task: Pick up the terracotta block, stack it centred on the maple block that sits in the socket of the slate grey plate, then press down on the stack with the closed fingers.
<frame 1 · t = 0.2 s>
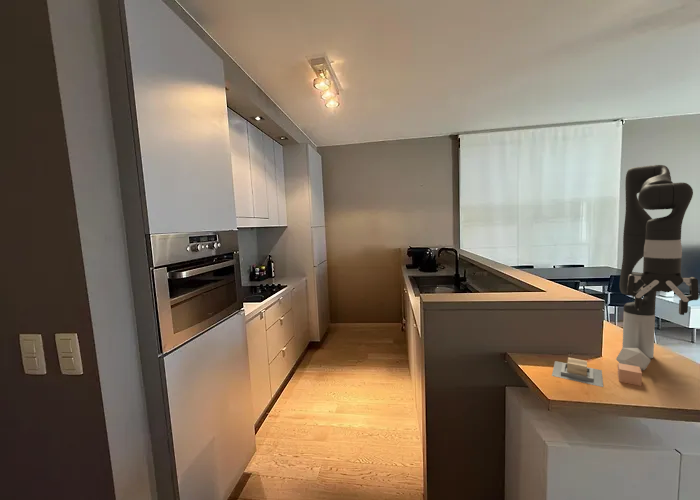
hand: (659, 312, 89), 28 cm above the counter, tool pointing down, fingers open, 8 cm apart
grey faceted rock: (632, 370, 113), on the counter
top block: (629, 383, 104), on the counter
base plate: (576, 376, 110), on the counter
base block: (577, 372, 110), point 1 cm above the counter, touching base plate
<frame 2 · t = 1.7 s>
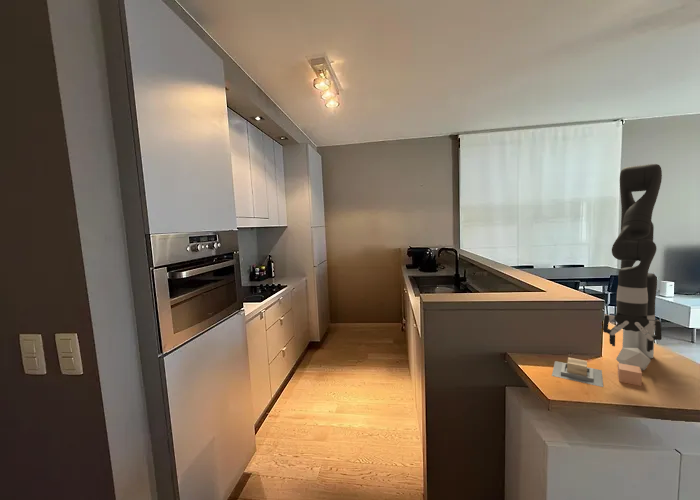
hand: (630, 348, 103), 12 cm above the counter, tool pointing down, fingers open, 8 cm apart
nothing on the counter moved.
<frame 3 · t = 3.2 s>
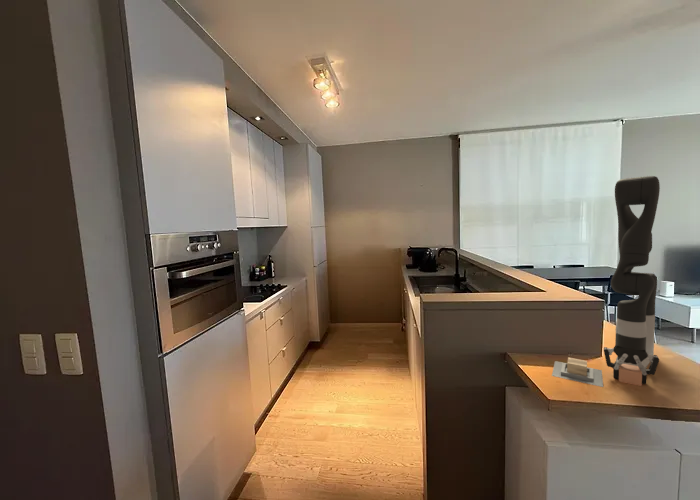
hand: (629, 381, 104), 1 cm above the counter, tool pointing down, fingers closed on top block, 5 cm apart
top block: (629, 383, 104), on the counter, touching gripper
everything else where it was.
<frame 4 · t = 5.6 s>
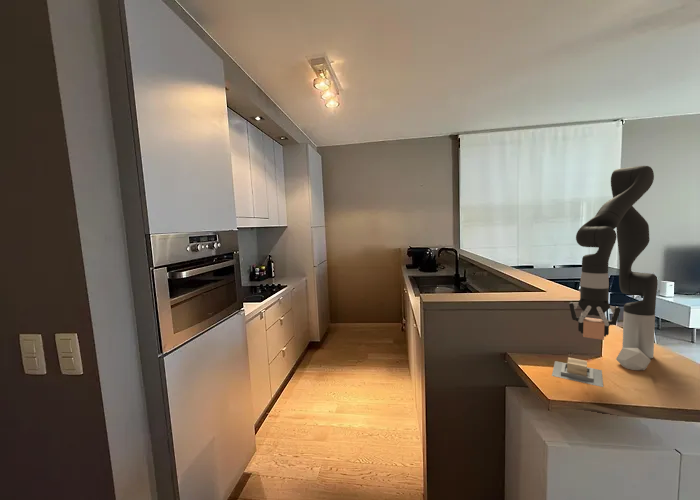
hand: (592, 334, 107), 16 cm above the counter, tool pointing down, fingers closed on top block, 5 cm apart
top block: (593, 335, 107), point 15 cm above the counter, touching gripper
everything else where it was.
when the fingers open (7 cm above the counter, at t = 7.8 s): top block stays where it is, resting on base block.
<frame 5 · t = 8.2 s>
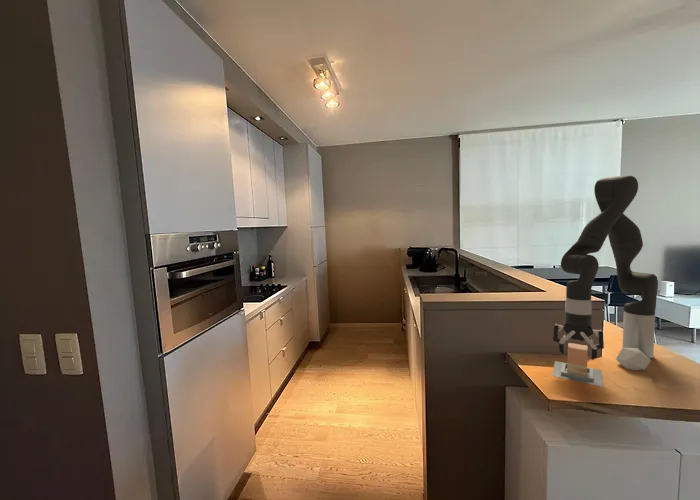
hand: (577, 356, 110), 7 cm above the counter, tool pointing down, fingers open, 8 cm apart
top block: (577, 361, 110), point 5 cm above the counter, touching base block
base block: (577, 372, 110), point 1 cm above the counter, touching base plate, top block
everything else where it was.
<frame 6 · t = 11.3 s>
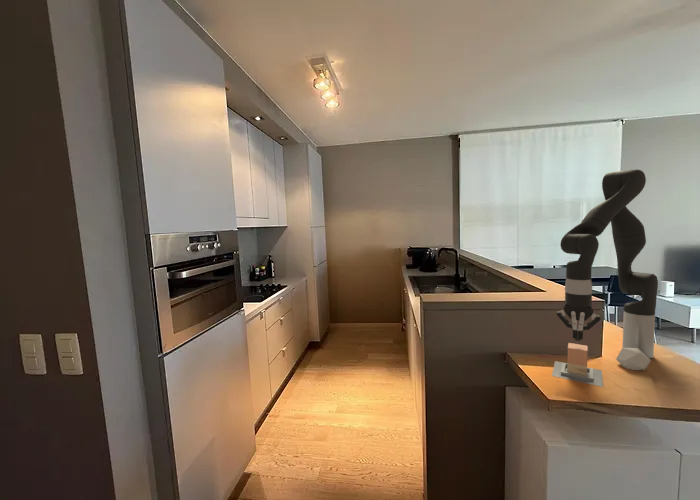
hand: (577, 339, 109), 13 cm above the counter, tool pointing down, fingers closed
nothing on the counter moved.
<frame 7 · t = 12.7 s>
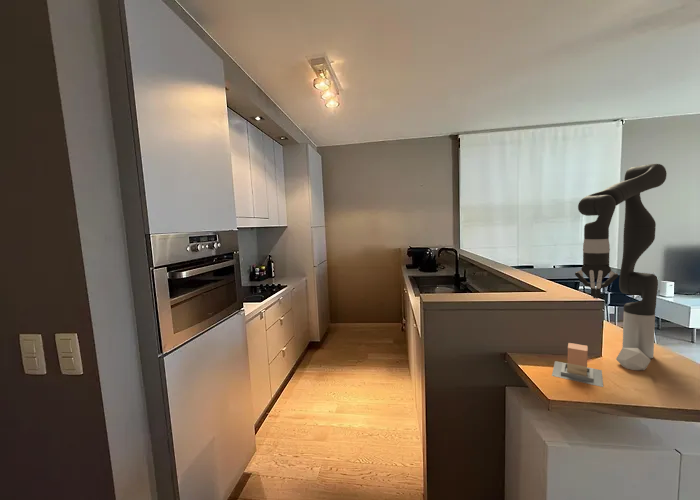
hand: (595, 298, 114), 26 cm above the counter, tool pointing down, fingers closed
nothing on the counter moved.
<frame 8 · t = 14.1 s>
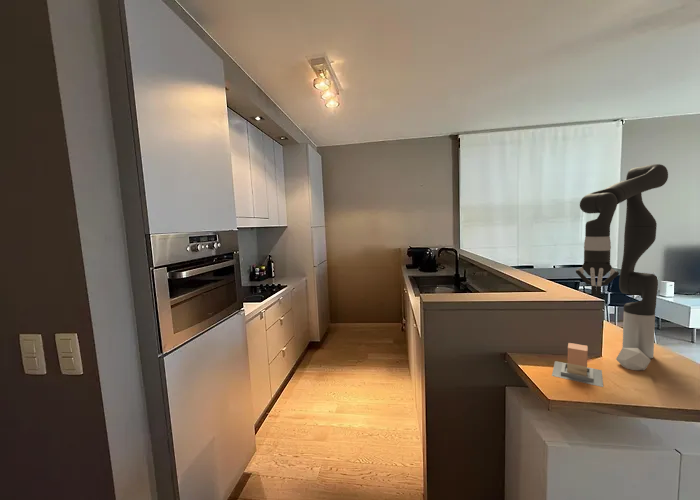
hand: (595, 295, 115), 27 cm above the counter, tool pointing down, fingers closed
nothing on the counter moved.
at the end: top block 0.0 cm off-centre on the base block, point 4.0 cm above the base block's base; top block tilted 0°; base block moved 0.0 cm from its start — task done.
